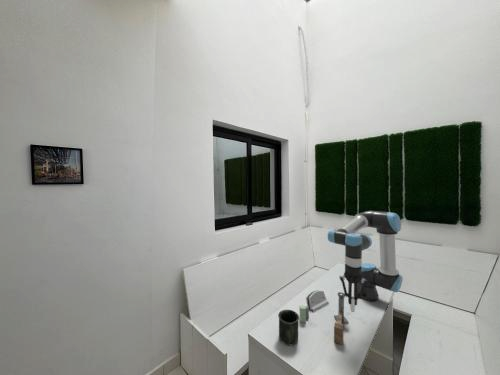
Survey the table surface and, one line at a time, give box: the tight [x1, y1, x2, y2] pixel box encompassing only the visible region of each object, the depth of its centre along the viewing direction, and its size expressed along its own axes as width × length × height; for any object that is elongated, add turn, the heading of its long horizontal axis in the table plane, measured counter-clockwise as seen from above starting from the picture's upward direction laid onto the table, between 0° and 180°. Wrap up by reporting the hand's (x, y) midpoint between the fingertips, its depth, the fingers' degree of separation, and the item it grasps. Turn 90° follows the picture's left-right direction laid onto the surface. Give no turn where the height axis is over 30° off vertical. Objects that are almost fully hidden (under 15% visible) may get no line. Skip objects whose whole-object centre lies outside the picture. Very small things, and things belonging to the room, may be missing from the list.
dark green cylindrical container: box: [277, 309, 300, 346], centre depth 107 cm, size 11×15×12 cm
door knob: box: [333, 291, 350, 325], centre depth 120 cm, size 6×6×16 cm
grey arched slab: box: [305, 290, 330, 313], centre depth 135 cm, size 17×5×10 cm, turn 124°
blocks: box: [299, 305, 310, 323], centre depth 121 cm, size 6×6×8 cm
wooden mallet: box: [333, 312, 344, 346], centre depth 110 cm, size 18×4×8 cm, turn 152°
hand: (352, 310), depth 101 cm, fingers closed
